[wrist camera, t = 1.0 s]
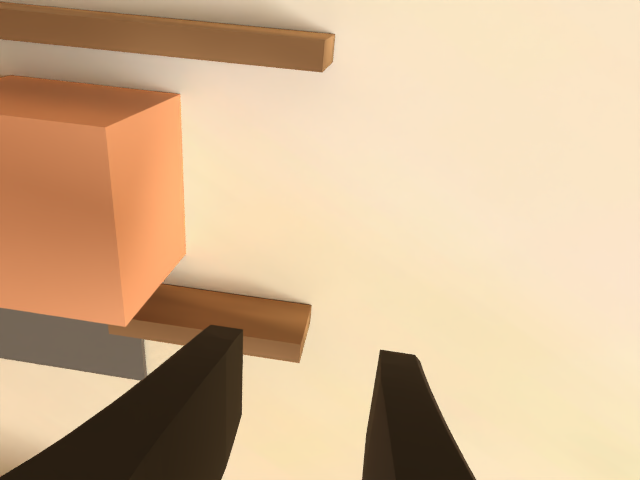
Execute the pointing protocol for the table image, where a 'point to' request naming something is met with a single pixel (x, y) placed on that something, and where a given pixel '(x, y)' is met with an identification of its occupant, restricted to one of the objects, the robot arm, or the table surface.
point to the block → (88, 197)
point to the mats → (70, 344)
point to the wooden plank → (203, 44)
